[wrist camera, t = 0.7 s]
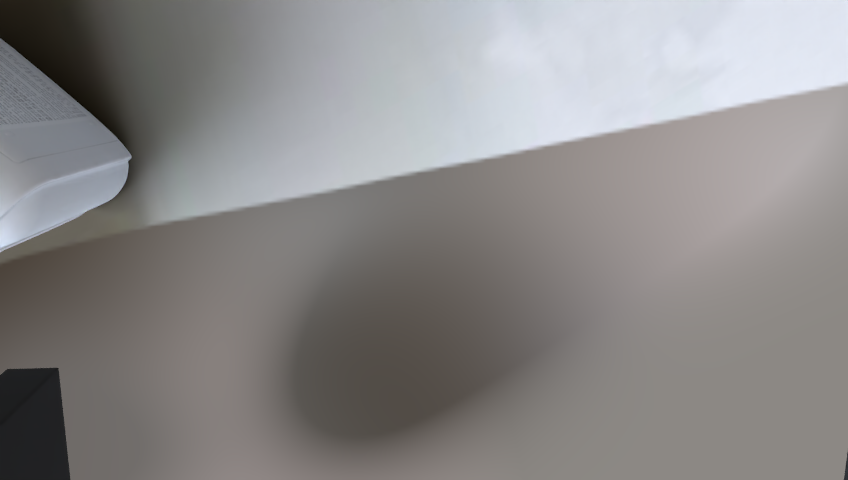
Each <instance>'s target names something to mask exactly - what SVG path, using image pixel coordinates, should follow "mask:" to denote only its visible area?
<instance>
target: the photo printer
mask: <svg viewBox="0 0 848 480" xmlns="http://www.w3.org/2000/svg"><path fill="white" fill-rule="evenodd" d="M131 158H132V156H131V154H130V153H129V151H128V150H127V149H126V148H125V146H124V145H123V144H122V143H121V142H120V141H119V139H118V138H117V137H116V136H115V135H114V134H113V133H112V132H111V131H110V130H109V129H108V128H106V127H105V126H104V125H103V124H102V123H101V122H100V121H99V120H98V119H97V118H95V117H94V116H93V115H92V114H91V113H90V112H89V111H87V110H86V109H85V108H84V107H83V106H81V105H80V104H79V103H78V102H77V101H76V100H75V99H73V98H72V97H71V96H70V95H69V94H68V93H66V92H65V91H64V90H63V89H62V88H60V87H59V86H58V85H57V84H56V83H55V82H53V81H52V80H51V79H50V78H49V77H47V76H46V75H45V74H44V73H43V72H41V71H40V70H39V69H38V68H36V67H35V66H34V65H33V64H32V63H31V62H29V61H28V60H27V59H26V58H24V57H23V56H22V55H21V54H20V53H18V52H17V51H16V50H15V49H14V48H12V47H11V46H10V45H9V44H7V43H6V42H5V41H3V40H2V39H1V38H0V252H1V251H3V250H5V249H8V248H10V247H12V246H15V245H17V244H19V243H21V242H24V241H26V240H28V239H30V238H33V237H35V236H38V235H40V234H42V233H44V232H46V231H49V230H51V229H53V228H55V227H58V226H60V225H62V224H64V223H66V222H68V221H71V220H73V219H75V218H77V217H79V216H81V215H82V214H84V213H85V212H86V211H88V210H90V209H92V208H95V207H97V206H99V205H102V204H104V203H106V202H108V201H109V200H111V199H112V198H114V197H115V196H116V195H117V194H118V193H119V192H120V190H121V189H122V187H123V186H124V184H125V182H126V179H127V175H128V169H129V164H128V161H129V160H130V159H131Z"/></svg>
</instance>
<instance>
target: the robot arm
mask: <svg viewBox="0 0 848 480" xmlns="http://www.w3.org/2000/svg"><path fill="white" fill-rule="evenodd" d="M0 480H70V473H69V463H68V454H67V445H66V435H65V426H64V417H63V408H62V399H61V388H60V379H59V371H58V368H38V369H37V368H35V369H7V370H6V371H5V372H3V373H2V374H1V375H0ZM844 480H848V454H847V462H846V469H845V477H844Z"/></svg>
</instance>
